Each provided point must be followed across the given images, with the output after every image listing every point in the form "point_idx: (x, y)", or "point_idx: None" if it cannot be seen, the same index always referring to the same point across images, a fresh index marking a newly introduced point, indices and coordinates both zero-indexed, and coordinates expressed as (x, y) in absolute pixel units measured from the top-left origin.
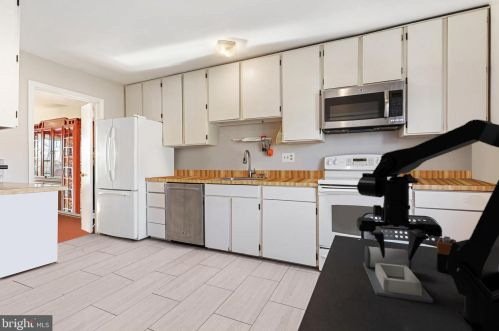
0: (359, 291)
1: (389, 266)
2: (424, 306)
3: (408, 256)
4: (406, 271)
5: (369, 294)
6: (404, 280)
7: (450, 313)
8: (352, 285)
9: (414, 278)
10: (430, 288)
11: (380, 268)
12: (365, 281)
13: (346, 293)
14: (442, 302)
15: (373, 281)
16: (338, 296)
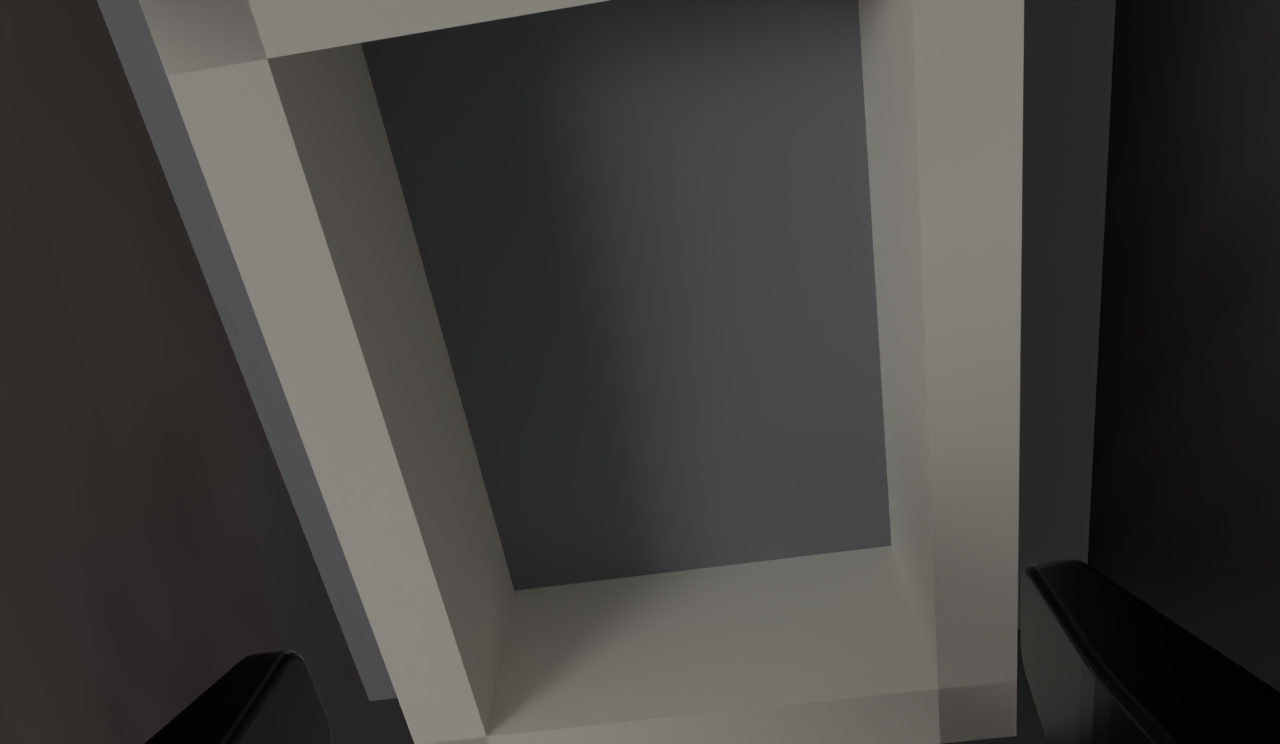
0: (166, 619)
1: (527, 13)
2: None
3: (1054, 681)
4: (913, 197)
5: (300, 644)
6: (756, 723)
7: None
8: (24, 495)
9: (962, 594)
10: (1274, 57)
11: (322, 363)
12: (157, 269)
13: (42, 720)
14: (1216, 493)
15: (284, 400)
16: None
